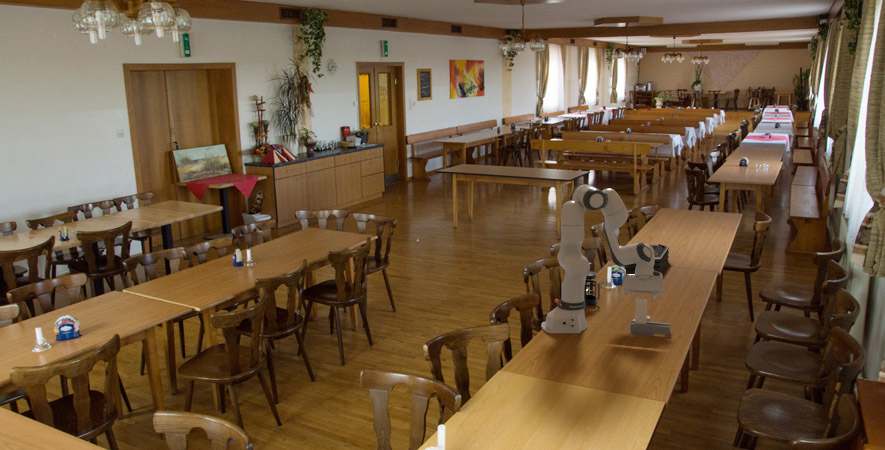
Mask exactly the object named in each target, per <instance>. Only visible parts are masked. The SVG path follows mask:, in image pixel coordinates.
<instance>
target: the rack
mask: <svg viewBox="0 0 885 450" xmlns="http://www.w3.org/2000/svg"><path fill="white" fill-rule="evenodd" d="M630 321H631V322H630V326H629V327H630V330H629V334H630V335H638V336H647V337H648V336H649V337H659V338H670V337H671V336H670V335H671V323H666V322H665V323H664V322H655V321H650V322H646V324H638V323H635V320H633V319H631V320H630Z"/></svg>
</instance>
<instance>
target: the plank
mask: <svg viewBox="0 0 885 450" xmlns="http://www.w3.org/2000/svg"><path fill="white" fill-rule="evenodd" d="M647 307H648V298H640V297H636V298H635V314H634V319H635V323H638V324H646V316H648V315H647V314H648V313H647V311H648V309H647Z"/></svg>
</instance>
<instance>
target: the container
mask: <svg viewBox="0 0 885 450" xmlns="http://www.w3.org/2000/svg"><path fill="white" fill-rule="evenodd" d="M649 245H650V246H652V247H653V249H654V256H655V260H654V266H653V269H654V271H657V272H660V273H662V274H663V272H664V269H665V268H666V267H667V266H668V264H667V263H669V257H670V256H669V254H670V251H669V250H670V246H669V245H664V244H661V243H659V244H649ZM636 266H637V264H636V263H634V264H629V265H626V266H623V267H624V269H626V272H625V273H626V274H629V273H630V274H631V273H633V274H635V269H636Z"/></svg>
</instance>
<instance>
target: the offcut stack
mask: <svg viewBox="0 0 885 450" xmlns="http://www.w3.org/2000/svg"><path fill="white" fill-rule="evenodd" d="M632 320H635V318H633V319H632ZM646 322H651V316H650V315H647V316H646Z"/></svg>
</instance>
